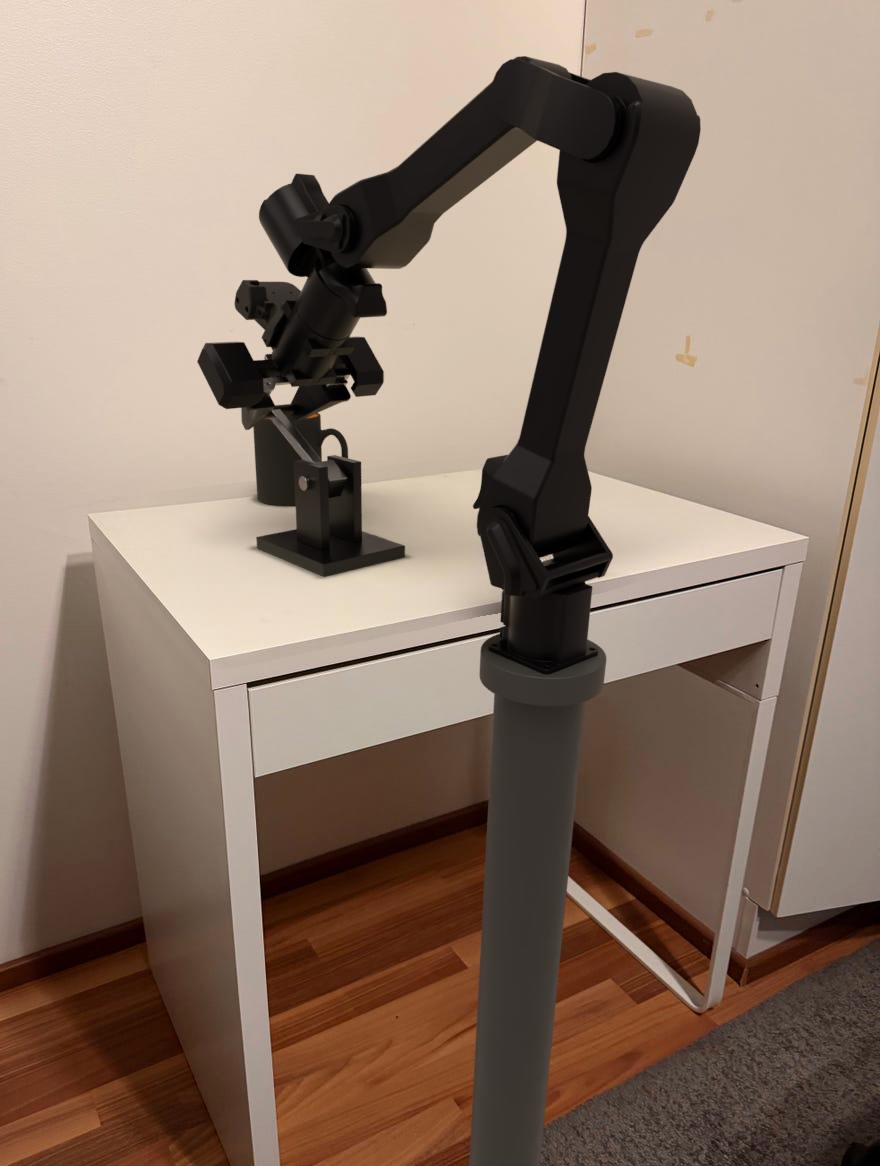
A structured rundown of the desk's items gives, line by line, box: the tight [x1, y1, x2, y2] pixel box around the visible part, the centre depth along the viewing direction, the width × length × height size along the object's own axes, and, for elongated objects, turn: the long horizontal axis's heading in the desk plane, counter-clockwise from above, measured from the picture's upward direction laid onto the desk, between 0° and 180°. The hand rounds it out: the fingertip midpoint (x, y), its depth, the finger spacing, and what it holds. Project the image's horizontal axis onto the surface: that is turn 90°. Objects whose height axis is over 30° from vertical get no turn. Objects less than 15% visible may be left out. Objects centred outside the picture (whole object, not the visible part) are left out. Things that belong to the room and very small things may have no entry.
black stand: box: [255, 454, 406, 577], centre depth 87 cm, size 12×10×9 cm
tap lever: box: [263, 403, 347, 498], centre depth 88 cm, size 13×5×2 cm, turn 39°
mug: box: [252, 412, 349, 507], centre depth 108 cm, size 8×12×10 cm
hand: (267, 423), depth 92 cm, fingers closed on tap lever, 5 cm apart
